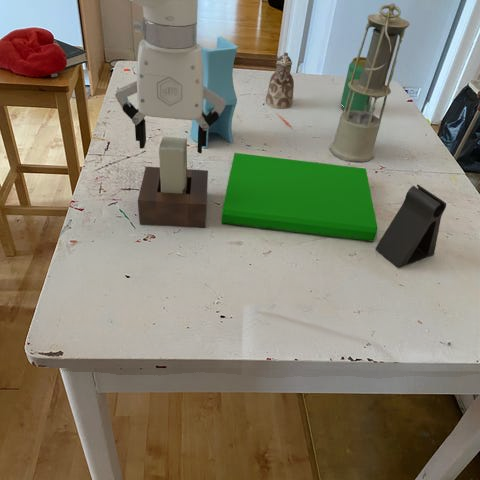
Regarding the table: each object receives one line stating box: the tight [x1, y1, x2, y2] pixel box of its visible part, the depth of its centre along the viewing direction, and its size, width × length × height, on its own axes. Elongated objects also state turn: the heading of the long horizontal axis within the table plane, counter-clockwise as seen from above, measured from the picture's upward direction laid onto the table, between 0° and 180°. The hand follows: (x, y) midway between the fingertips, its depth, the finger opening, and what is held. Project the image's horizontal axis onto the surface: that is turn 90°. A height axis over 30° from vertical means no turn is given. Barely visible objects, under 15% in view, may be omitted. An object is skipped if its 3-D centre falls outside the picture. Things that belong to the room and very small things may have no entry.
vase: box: [189, 36, 238, 150], centre depth 103 cm, size 8×8×20 cm
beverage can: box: [340, 56, 373, 111], centre depth 126 cm, size 8×8×12 cm
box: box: [158, 136, 188, 194], centre depth 85 cm, size 5×4×13 cm
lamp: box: [329, 3, 411, 162], centre depth 100 cm, size 10×13×30 cm
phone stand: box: [375, 183, 447, 269], centre depth 81 cm, size 9×6×12 cm, turn 121°
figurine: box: [265, 52, 295, 110], centre depth 124 cm, size 7×7×12 cm
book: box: [221, 152, 378, 242], centre depth 93 cm, size 22×28×3 cm
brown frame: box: [137, 166, 209, 229], centre depth 87 cm, size 12×12×5 cm
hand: (171, 147), depth 80 cm, fingers open, 9 cm apart
